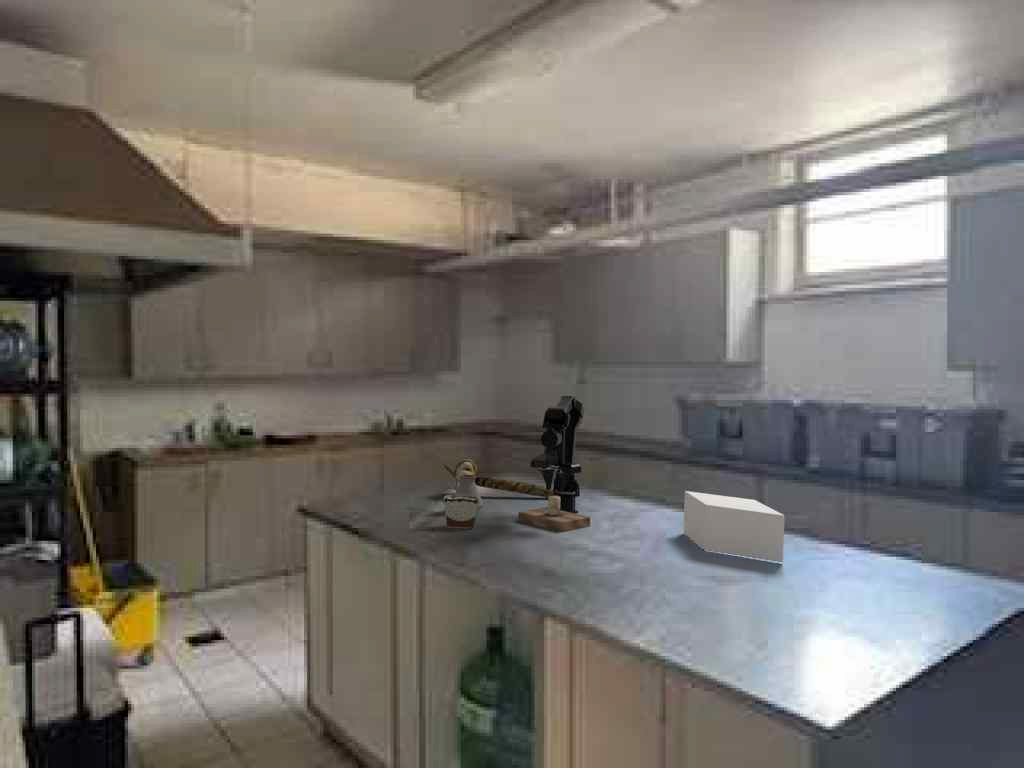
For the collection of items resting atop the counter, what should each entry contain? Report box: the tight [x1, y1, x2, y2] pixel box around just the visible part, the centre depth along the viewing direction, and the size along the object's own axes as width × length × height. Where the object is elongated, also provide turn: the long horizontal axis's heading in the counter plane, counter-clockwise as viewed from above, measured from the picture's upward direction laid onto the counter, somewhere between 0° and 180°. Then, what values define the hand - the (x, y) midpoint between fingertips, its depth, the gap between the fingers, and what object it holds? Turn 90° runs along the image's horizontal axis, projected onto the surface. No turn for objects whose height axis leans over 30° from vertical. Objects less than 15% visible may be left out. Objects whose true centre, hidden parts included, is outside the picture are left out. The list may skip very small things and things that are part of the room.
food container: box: [441, 493, 480, 529], centre depth 247 cm, size 12×6×10 cm, turn 84°
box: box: [682, 490, 786, 563], centre depth 227 cm, size 20×40×14 cm, turn 30°
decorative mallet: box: [451, 459, 558, 498], centre depth 301 cm, size 15×42×16 cm, turn 97°
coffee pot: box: [441, 464, 484, 513], centre depth 274 cm, size 21×12×15 cm, turn 38°
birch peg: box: [547, 496, 560, 517], centre depth 254 cm, size 4×4×9 cm
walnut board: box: [517, 506, 591, 533], centre depth 254 cm, size 14×20×3 cm
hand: (554, 491), depth 254 cm, fingers open, 5 cm apart
